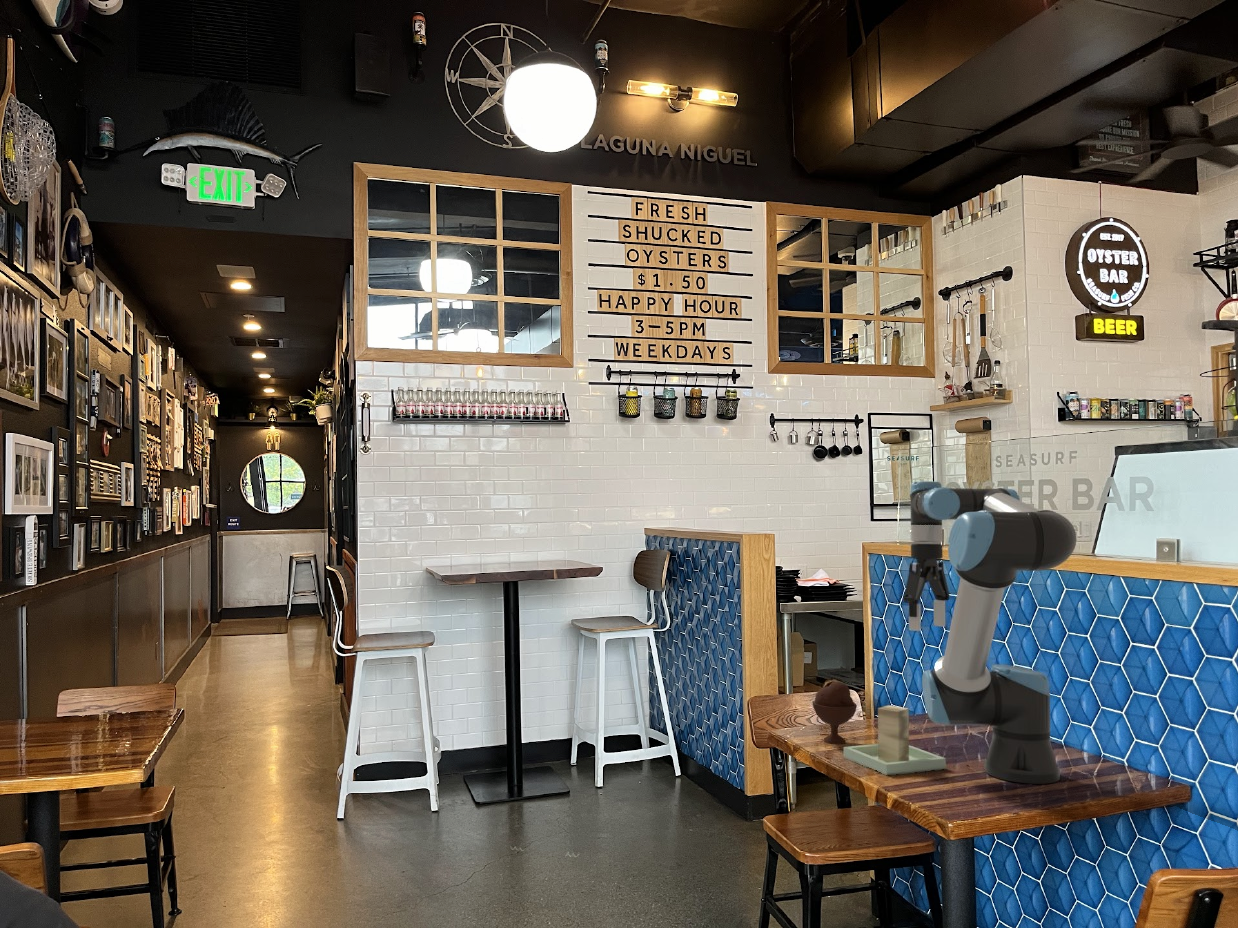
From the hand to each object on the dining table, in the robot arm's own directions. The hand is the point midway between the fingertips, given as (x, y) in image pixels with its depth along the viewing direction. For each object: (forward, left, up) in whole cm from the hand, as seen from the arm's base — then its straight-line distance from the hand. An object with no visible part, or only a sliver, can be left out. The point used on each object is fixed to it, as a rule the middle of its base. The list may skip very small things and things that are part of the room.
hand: (927, 628), depth 228 cm
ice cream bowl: (+11, +20, -29) cm, 37 cm away
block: (-11, +19, -28) cm, 36 cm away
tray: (-11, +19, -29) cm, 36 cm away
